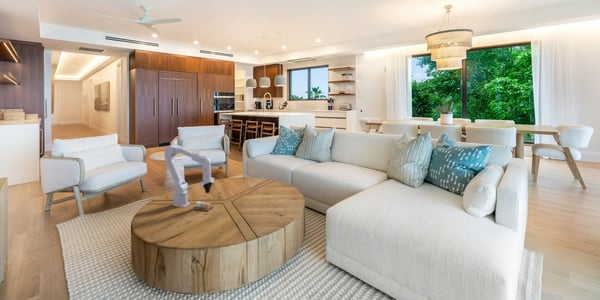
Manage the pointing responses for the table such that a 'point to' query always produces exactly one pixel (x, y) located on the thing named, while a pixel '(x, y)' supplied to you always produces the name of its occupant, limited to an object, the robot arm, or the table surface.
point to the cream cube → (198, 204)
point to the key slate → (202, 204)
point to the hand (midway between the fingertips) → (207, 192)
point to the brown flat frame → (202, 208)
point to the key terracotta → (207, 205)
